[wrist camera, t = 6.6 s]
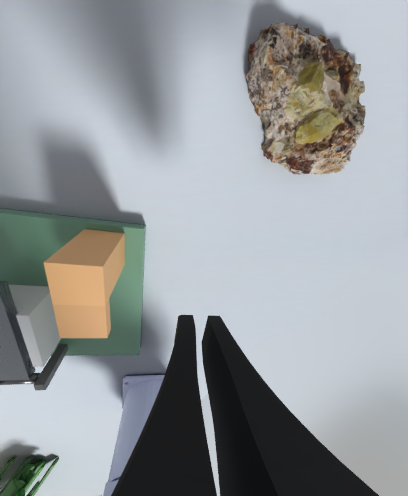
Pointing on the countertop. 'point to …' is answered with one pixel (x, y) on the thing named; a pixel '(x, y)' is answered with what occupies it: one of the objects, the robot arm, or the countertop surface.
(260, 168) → the countertop surface
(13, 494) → the daffodil flowers
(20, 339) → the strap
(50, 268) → the orange l-shaped block
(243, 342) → the countertop surface
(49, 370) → the board
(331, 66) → the mineral rock
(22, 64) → the countertop surface
